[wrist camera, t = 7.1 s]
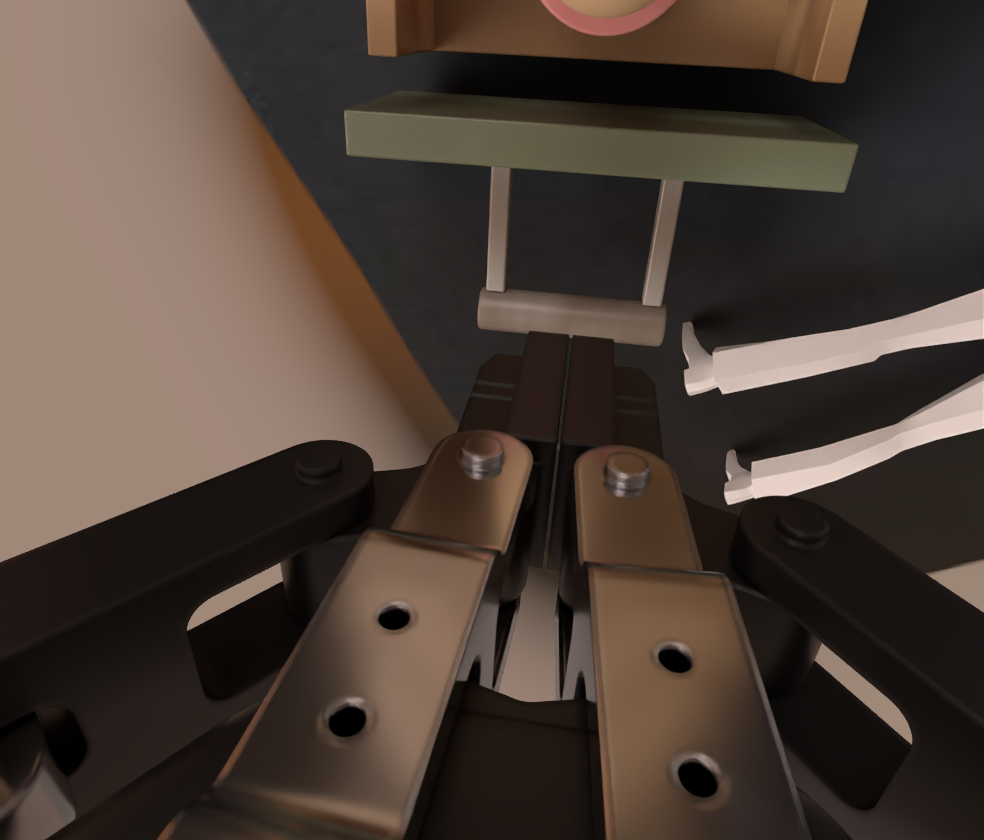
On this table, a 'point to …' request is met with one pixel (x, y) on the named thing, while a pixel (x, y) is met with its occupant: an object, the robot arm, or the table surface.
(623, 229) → the table surface
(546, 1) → the pink game pawn
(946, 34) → the table surface
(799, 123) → the drawer
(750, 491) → the male figurine
